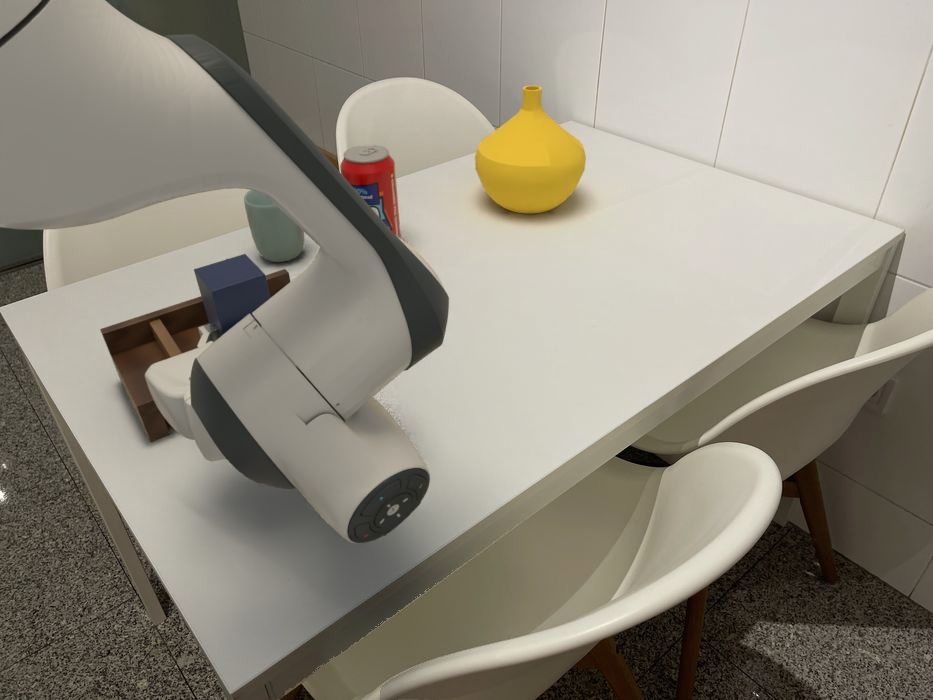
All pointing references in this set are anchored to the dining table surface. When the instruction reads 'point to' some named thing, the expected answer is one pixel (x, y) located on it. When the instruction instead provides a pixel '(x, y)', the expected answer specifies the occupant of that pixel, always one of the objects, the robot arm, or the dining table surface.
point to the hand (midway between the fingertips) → (238, 319)
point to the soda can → (374, 181)
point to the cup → (272, 229)
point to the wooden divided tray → (160, 348)
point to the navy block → (231, 290)
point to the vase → (530, 160)
